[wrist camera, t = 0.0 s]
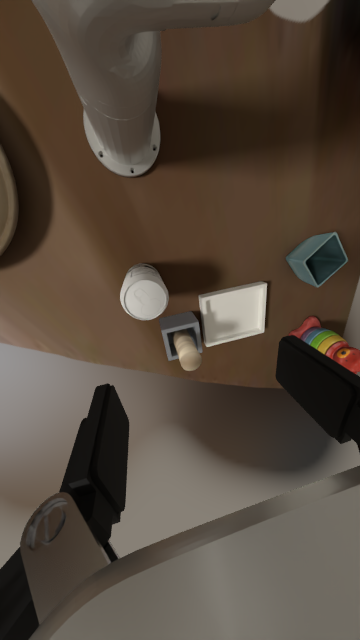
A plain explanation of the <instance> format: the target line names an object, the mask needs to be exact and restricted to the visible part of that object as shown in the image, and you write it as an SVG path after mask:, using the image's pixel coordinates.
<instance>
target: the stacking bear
mask: <svg viewBox="0 0 360 640" xmlns="http://www.w3.org/2000/svg"><path fill="white" fill-rule="evenodd" d="M290 335H295V336H296V337H298V338H300V339H301V340H303V341H304V342H306V343H308V344H309V345H311V346H312V347H314V348H315V349H317V350H319V351H320V352H322V353H323V354H325V355H326V356H328V357H330V358H331V359H333V360H334V361H336V362H337V363H339V364H341V365H342V366H344V367H345V368H347V369H348V370H350V371H352V372H353V373H355V374H357V372H359V371H360V350H358V349H356V348H353V347H349V345H348V343H347V342H346V341H345V340H344V339H343V338H342V337H340V336H339V335H338V334H336V333H335V332H333V331H331V330H328V329H325V328H321V325H320V322H319V320H318V319H317V318H316V317H315V316H310V317H308V318H307V319H306V320H305V321H304V323H303V324H302V326H301V327H299V328H298V329H296V330H293V331H292V332H291V333H289V336H290Z"/></svg>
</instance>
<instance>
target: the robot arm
mask: <svg viewBox="0 0 360 640" xmlns="http://www.w3.org/2000/svg"><path fill="white" fill-rule="evenodd" d="M274 1H275V0H32V2H33V4H34V5H35V7H36V8H37V10H38V11H39V13H40V14H41V16H42V18H43V19H44V21H45V23H46V25H47V26H48V28H49V30H50V32H51V34H52V36H53V38H54V40H55V42H56V45H57V47H58V49H59V51H60V53H61V56H62V58H63V60H64V63H65V65H66V67H67V70H68V72H69V74H70V77H71V79H72V81H73V84H74V86H75V88H76V91H77V93H78V95H79V98H80V100H81V102H82V105H83V107H84V113H83V118H84V127H85V132H86V136H87V139H88V141H89V144H90V146H91V148H92V150H93V152H94V153H95V155H96V157H97V158H98V159H99V160H100V162H101V163H102V164H103V165H104V166H105V167H106V168H107V169H109V170H110V171H112V172H113V173H115V174H117V175H120V176H123V177H137V176H140V175H142V174H144V173H145V172H147V171H148V170H149V169H150V168H151V167H152V165H153V163H154V162H155V160H156V157H157V155H158V152H159V147H160V126H159V121H158V117H157V114H156V111H155V110H156V102H157V95H158V87H159V78H160V70H161V53H162V50H161V37H160V31H165V30H166V29H176V28H198V27H219V26H231V25H238V24H243V23H247V22H250V21H252V20H254V19H256V18H258V17H259V16H261V15H262V14H263V13H264V12H266V11H267V9H268V8H269V7H270V6H271V5H272V4H273V3H274ZM154 148H155V150H156V151H153V149H154ZM101 155H103V157H102V158H101V157H100V156H101ZM132 170H133V171H134V173H131V171H132ZM276 379H277V381H278V382H279V383H280V384H281V385H282V387H283V388H284V389H285V390H287V392H288V393H289V394H290V395H291V396H292V397H293V398H294V399H295V400H296V401H297V402H298V403H299V404H300V405H301V406H302V407H303V408H304V410H305V411H306V412H307V413H308V414H309V415H310V416H311V417H312V418H313V419H314V420H315V421H316V422H317V423H318V424H319V425H320V426H321V427H322V428H323V429H324V430H325V431H326V433H328V434H329V435H330V436H331V437H333V438H335V439H336V440H337V441H338V442H339V443H340V444H342V443H345V442H348V441H350V440H351V439H353V440H354V441H355V442H356V443H357V445H358V449H359V453H360V377H359V376H358V375H356V374H355V373H353V372H352V371H350V370H348V369H347V368H345V367H344V366H342V365H341V364H339V363H337V362H336V361H334V360H333V359H331V358H330V357H328V356H326V355H325V354H323V353H322V352H320V351H319V350H317V349H315V348H314V347H312V346H311V345H309V344H308V343H306V342H304V341H303V340H301V339H300V338H298V337H296V336H295V335H290V336H286V337H283V338H282V339H281V341H280V342H279V349H278V358H277V368H276ZM128 439H129V420H128V417H127V415H126V413H125V410H124V408H123V406H122V404H121V401H120V399H119V397H118V394H117V392H116V390H115V387H114V386H113V385H112V386H110V384H105V385H100V386H97V387H96V389H95V392H94V396H93V399H92V403H91V406H90V410H89V413H88V417H87V418H84V419H83V420H82V422H81V424H80V427H79V430H78V434H77V437H76V440H75V443H74V447H73V450H72V453H71V456H70V459H69V463H68V466H67V469H66V473H65V476H64V479H63V482H62V486H61V488H60V491H59V493H56V494H54V495H52V496H50V497H49V498H47V499H46V500H45V501H44V502H43V503H42V504H40V506H39V507H38V508H37V509H36V510H35V511H34V513H33V514H32V516H31V517H30V519H29V520H28V522H27V524H26V526H25V528H24V531H23V533H22V537H21V542H20V547H19V548H18V550H17V551H16V552H15V553H14V554H13V555H12V556H11V558H10V559H9V560H8V561H7V562H6V564H5V565H4V566H3V567H2V568H1V569H0V640H360V466H357V467H355V468H352V469H349V470H347V471H344V472H341V473H338V474H336V475H333V476H330V477H327V478H325V479H322V480H319V481H317V482H314V483H311V484H309V485H306V486H303V487H300V488H298V489H295V490H293V491H290V492H287V493H284V494H282V495H279V496H276V497H274V498H271V499H268V500H266V501H263V502H260V503H258V504H255V505H252V506H250V507H247V508H244V509H242V510H239V511H236V512H234V513H231V514H228V515H226V516H223V517H221V518H218V519H215V520H213V521H210V522H207V523H205V524H202V525H199V526H197V527H194V528H192V529H189V530H187V531H184V532H181V533H179V534H176V535H174V536H171V537H169V538H166V539H164V540H161V541H159V542H157V543H154V544H151V545H149V546H147V547H144V548H142V549H139V550H137V551H135V552H133V553H130V554H128V555H126V556H124V557H122V558H120V557H119V556H118V554H117V553H116V551H115V549H114V547H113V546H112V544H111V542H110V541H109V538H110V537H111V529H112V524H115V523H118V522H120V514H121V512H122V511H124V509H125V499H126V480H127V460H128Z"/></svg>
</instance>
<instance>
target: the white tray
mask: <svg viewBox="0 0 360 640" xmlns="http://www.w3.org/2000/svg"><path fill="white" fill-rule="evenodd" d="M266 293H267V283H265V282H262V281H260V282H256V283H251V284H247V285H242V286H238V287H233V288H229V289H224V290H220V291H215V292H211V293H206V294H202V295H199V304H200V312H201V321H202V329H203V338H204V343H205V345H206V347H209V346H213V345H217V344H221V343H225V342H229V341H232V340H236V339H240V338H244V337H248V336H252V335H256V334H260V333H264V327H265V310H266Z"/></svg>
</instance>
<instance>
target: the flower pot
mask: <svg viewBox="0 0 360 640" xmlns="http://www.w3.org/2000/svg"><path fill="white" fill-rule="evenodd" d="M286 260H287V262H288V263H289V265H290V267H291V268H292V270H293V271H294V273H295V274H296V276H297V277H298V278H299V279H301V280H302V281H304V282H306V283H309V284H311V285H313V286H315V287H319V286H321V285H322V284H323V283H324V282H325V281H326V280H327V279H328V278H329V277H331V276H332V275H333V274H334V273H335V272H336V271H337V270H339V269H340V268H341V267H342V266H343V265H344V264H345V263H346V262H347V261H348V258H347V256H346V254H345V251H344V249H343V247H342V244H341V242H340V240H339V237H338V234H337V233H336V232H333V233H327V234H321V235H316V236H313V237H310V238H308V239H306V240H305V241H303V242H302V243H300V244H299V245H298V246H297V247H296V248H295V249H294V250H293V251H292V252H291V253H290V254H289V255H288V256H287V257H286Z"/></svg>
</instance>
